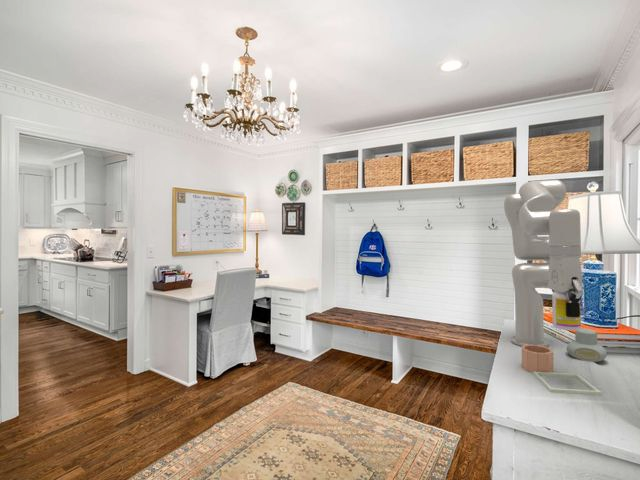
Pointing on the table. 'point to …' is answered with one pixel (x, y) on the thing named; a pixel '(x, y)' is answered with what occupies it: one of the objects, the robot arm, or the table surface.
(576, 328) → the supplement bottle
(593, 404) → the table surface
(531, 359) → the pot
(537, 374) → the tray
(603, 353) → the air freshener
